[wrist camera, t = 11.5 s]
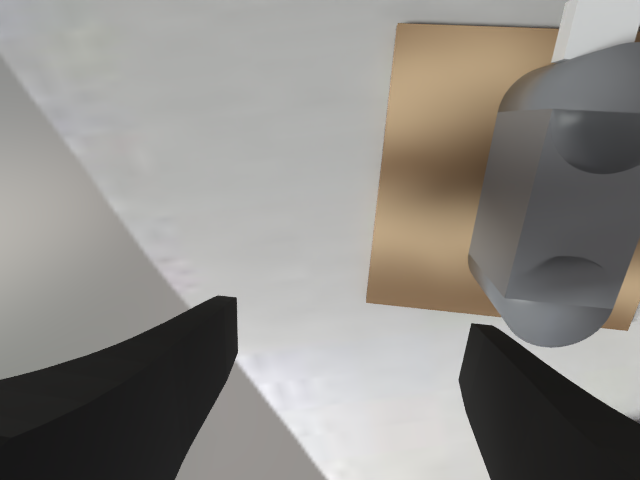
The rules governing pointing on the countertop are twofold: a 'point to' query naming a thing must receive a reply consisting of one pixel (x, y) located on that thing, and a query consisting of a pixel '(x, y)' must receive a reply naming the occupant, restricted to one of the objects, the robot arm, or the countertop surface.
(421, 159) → the oak board
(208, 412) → the robot arm
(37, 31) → the countertop surface
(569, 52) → the grey capsule with tab
